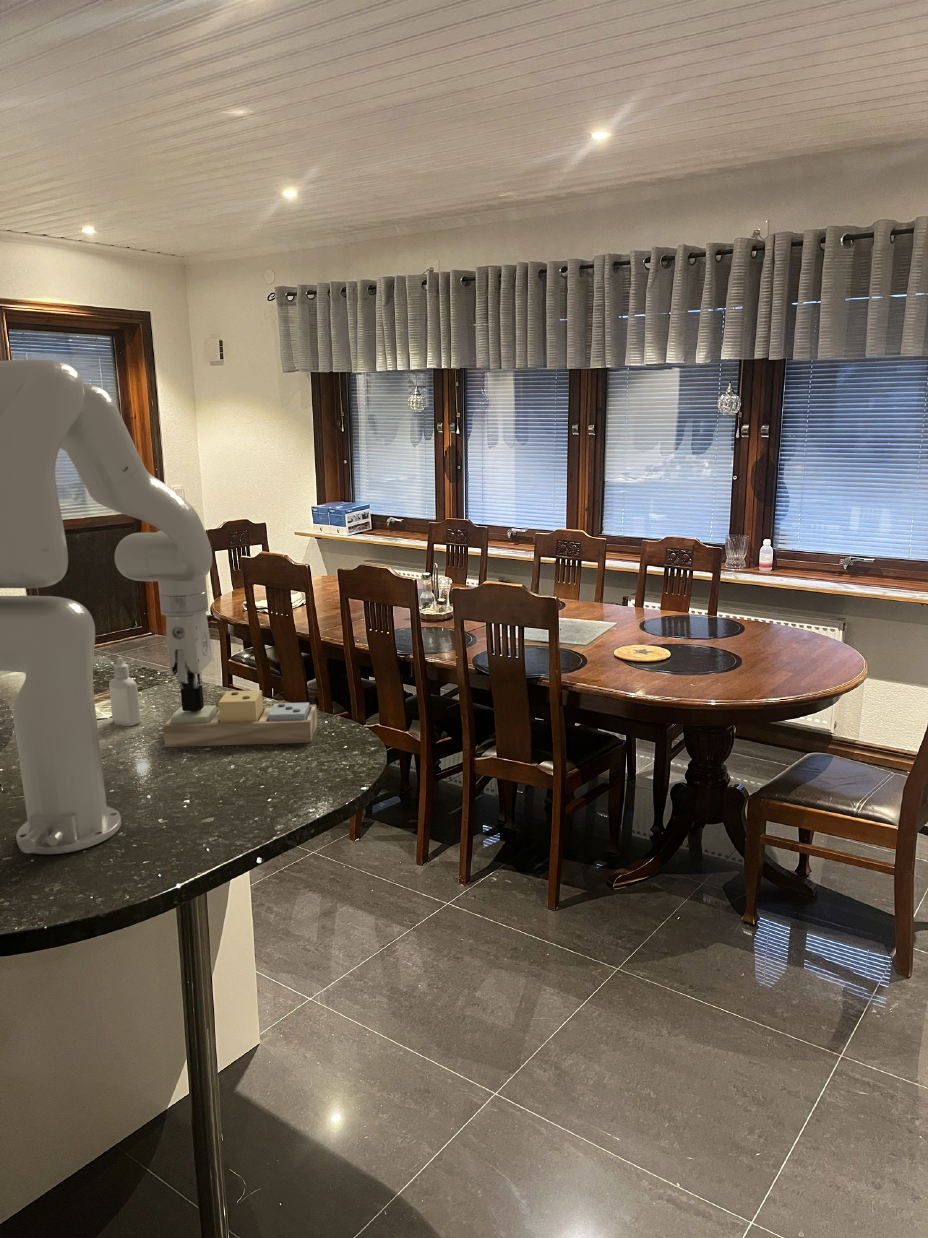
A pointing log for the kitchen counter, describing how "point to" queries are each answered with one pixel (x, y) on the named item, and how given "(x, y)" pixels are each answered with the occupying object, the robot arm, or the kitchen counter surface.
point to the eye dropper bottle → (124, 696)
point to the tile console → (241, 731)
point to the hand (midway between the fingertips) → (193, 709)
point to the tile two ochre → (241, 706)
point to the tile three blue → (289, 711)
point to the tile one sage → (195, 715)
